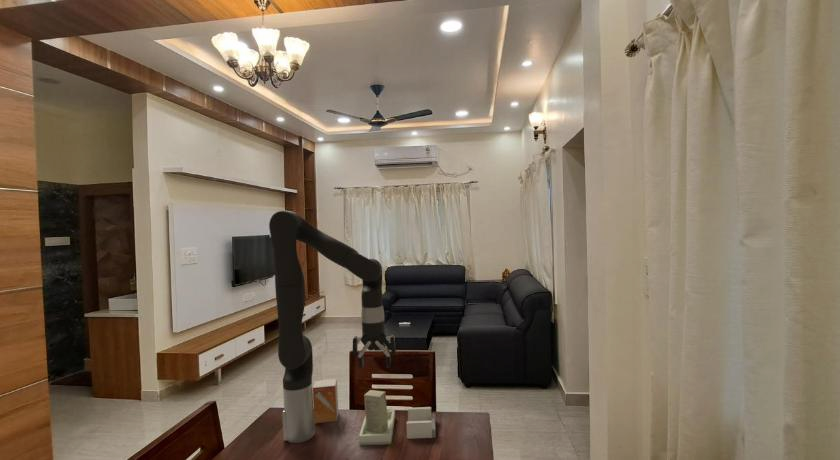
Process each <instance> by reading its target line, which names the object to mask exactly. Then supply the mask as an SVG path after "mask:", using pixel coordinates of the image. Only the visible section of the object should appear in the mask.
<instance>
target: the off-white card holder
mask: <svg viewBox="0 0 840 460" xmlns="http://www.w3.org/2000/svg"><path fill="white" fill-rule="evenodd" d="M435 416H436V414H435V413H432V407H431V406H422V407H421V406H419V407H408V408H407V419H408V420H407V421H406V438H407V440H408V439H409V440H410V439H428V438H429V439H432V438H436V437H437V435H436V433H437V432H436V417H435Z"/></svg>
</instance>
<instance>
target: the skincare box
mask: <svg viewBox="0 0 840 460" xmlns="http://www.w3.org/2000/svg"><path fill="white" fill-rule="evenodd" d="M386 393H387V392H386V391H383V390H374V389H370V390H368V391H367V392H366V393H365V394H363V397H364V399H363V400H364V411H365V415H366V427H367V431H372V432H378V433H383V432H384V431H385V430H386V429H387V428H388V418H387V397H386V396H387V395H386Z"/></svg>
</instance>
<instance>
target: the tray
mask: <svg viewBox="0 0 840 460" xmlns="http://www.w3.org/2000/svg"><path fill="white" fill-rule="evenodd" d="M395 411H396V410H395V409H392V410H391V409H389V410H387V418H388V428H387V429H386V430H385V431H384V432H383V433H378V432H372V431H367V427H366V414H365V416H364V417H363V422H362V425H361V428H360V432H359V435H358V440H359V441H358V442H359V443H358V445H359V446H375V445H376V446H379V445H382V446H383V445H392V441H393V433H394V428H395V420H396V412H395Z"/></svg>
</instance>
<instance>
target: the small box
mask: <svg viewBox="0 0 840 460" xmlns="http://www.w3.org/2000/svg"><path fill="white" fill-rule="evenodd" d="M312 391H313V410H314V424H320V423H321V424H322V423H330V422H337V421H338V417H339V398H338V397H339V396H338V395H339V394H338V379H337V378H332V379H322V380H315V381H314V383H313V385H312Z"/></svg>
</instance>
